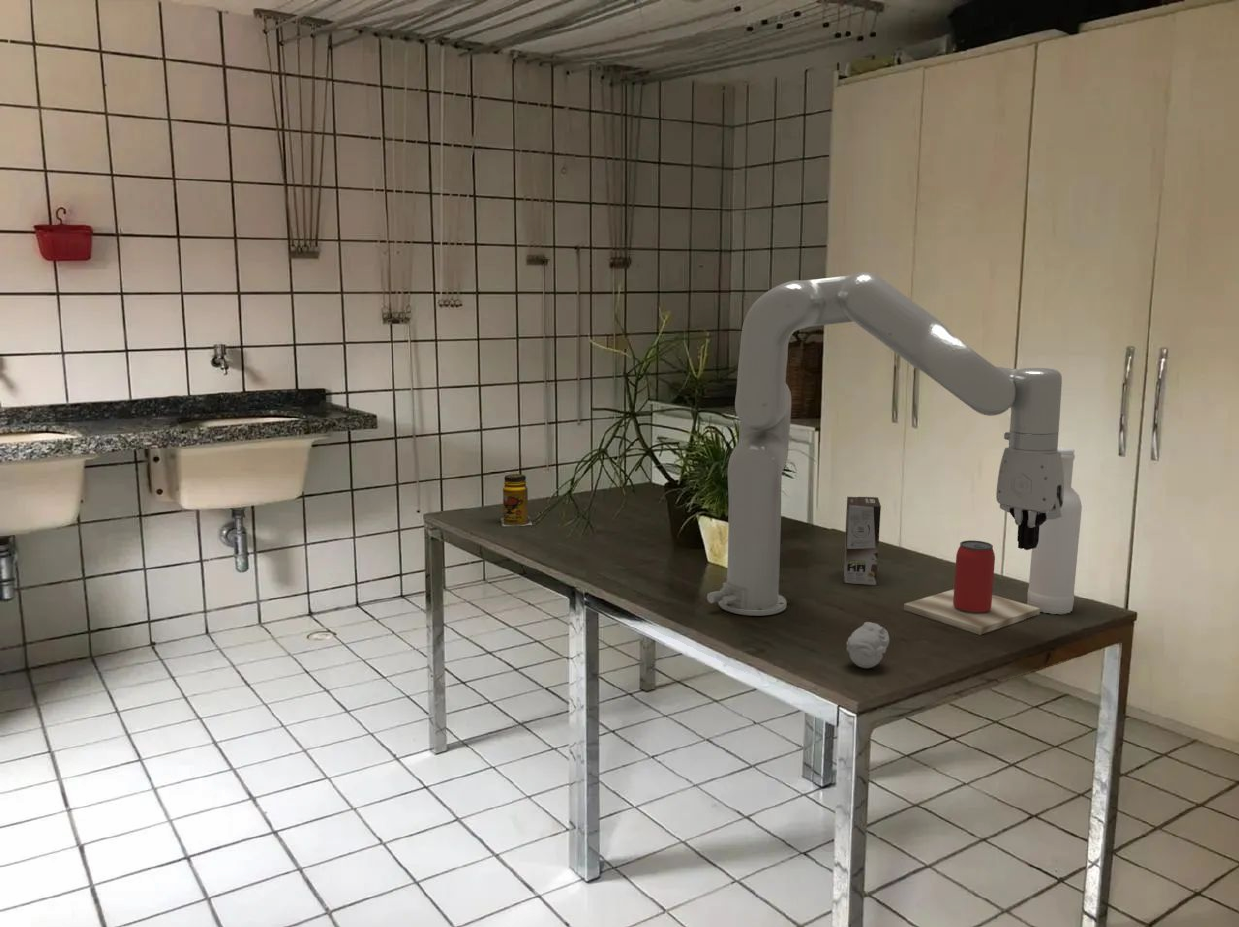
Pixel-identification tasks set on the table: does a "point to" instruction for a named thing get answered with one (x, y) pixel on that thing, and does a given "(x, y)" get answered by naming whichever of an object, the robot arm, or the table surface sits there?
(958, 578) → the beer can
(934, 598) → the birch board
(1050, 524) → the bottle
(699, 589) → the table surface
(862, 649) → the frog figurine
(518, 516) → the condiment
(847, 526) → the coffee box
